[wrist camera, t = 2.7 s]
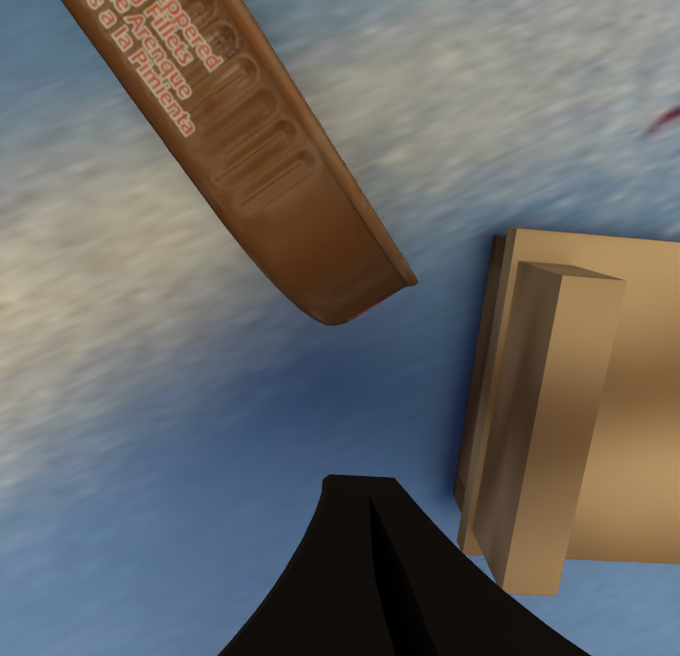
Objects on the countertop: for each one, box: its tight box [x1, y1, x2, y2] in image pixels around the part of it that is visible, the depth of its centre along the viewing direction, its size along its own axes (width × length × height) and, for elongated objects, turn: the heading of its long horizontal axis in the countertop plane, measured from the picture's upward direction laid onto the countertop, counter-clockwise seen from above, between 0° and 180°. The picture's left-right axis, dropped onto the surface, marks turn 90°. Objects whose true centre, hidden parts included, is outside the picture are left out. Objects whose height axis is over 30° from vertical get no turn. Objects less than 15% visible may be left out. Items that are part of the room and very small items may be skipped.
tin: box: [61, 0, 418, 326], centre depth 12 cm, size 15×3×8 cm, turn 33°
